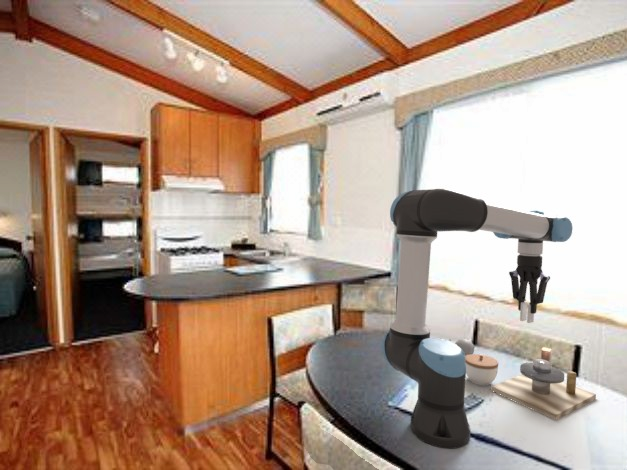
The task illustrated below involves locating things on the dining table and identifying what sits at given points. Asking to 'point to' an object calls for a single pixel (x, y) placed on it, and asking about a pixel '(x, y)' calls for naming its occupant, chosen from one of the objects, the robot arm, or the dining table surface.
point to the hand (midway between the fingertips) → (526, 321)
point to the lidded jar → (481, 369)
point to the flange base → (545, 394)
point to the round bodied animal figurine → (465, 346)
